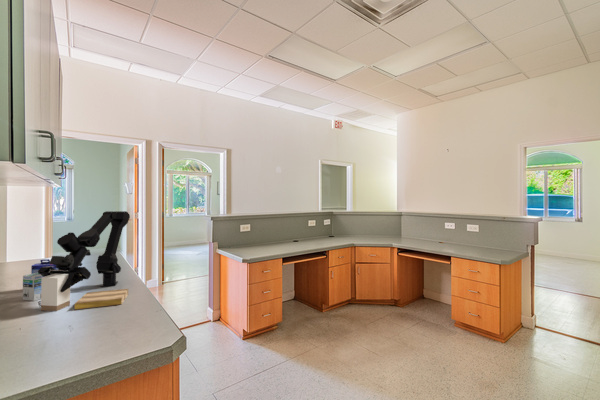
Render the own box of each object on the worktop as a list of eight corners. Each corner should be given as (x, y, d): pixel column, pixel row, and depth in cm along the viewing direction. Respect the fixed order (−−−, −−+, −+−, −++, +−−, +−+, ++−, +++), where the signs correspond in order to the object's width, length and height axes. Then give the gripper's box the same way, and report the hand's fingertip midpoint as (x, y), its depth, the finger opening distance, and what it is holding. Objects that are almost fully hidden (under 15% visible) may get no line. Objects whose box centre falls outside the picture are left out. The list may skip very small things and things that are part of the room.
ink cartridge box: (30, 290, 135) (30, 260, 135) (36, 287, 141) (36, 258, 141) (55, 288, 139) (56, 259, 139) (60, 285, 144) (60, 257, 144)
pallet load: (54, 304, 117) (55, 273, 117) (69, 305, 117) (70, 274, 117) (40, 310, 111) (41, 277, 111) (56, 311, 111) (57, 278, 111)
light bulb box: (33, 301, 121) (33, 276, 121) (21, 300, 123) (21, 275, 123) (59, 293, 132) (59, 270, 132) (48, 292, 133) (48, 269, 133)
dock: (86, 298, 125) (86, 292, 125) (128, 294, 131) (128, 288, 131) (74, 309, 112) (74, 303, 112) (121, 304, 118) (121, 298, 118)
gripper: (42, 247, 118) (14, 281, 107) (86, 247, 118) (63, 281, 107) (58, 262, 126) (34, 295, 115) (99, 262, 126) (79, 295, 115)
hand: (52, 291), depth 113 cm, fingers closed on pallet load, 7 cm apart
